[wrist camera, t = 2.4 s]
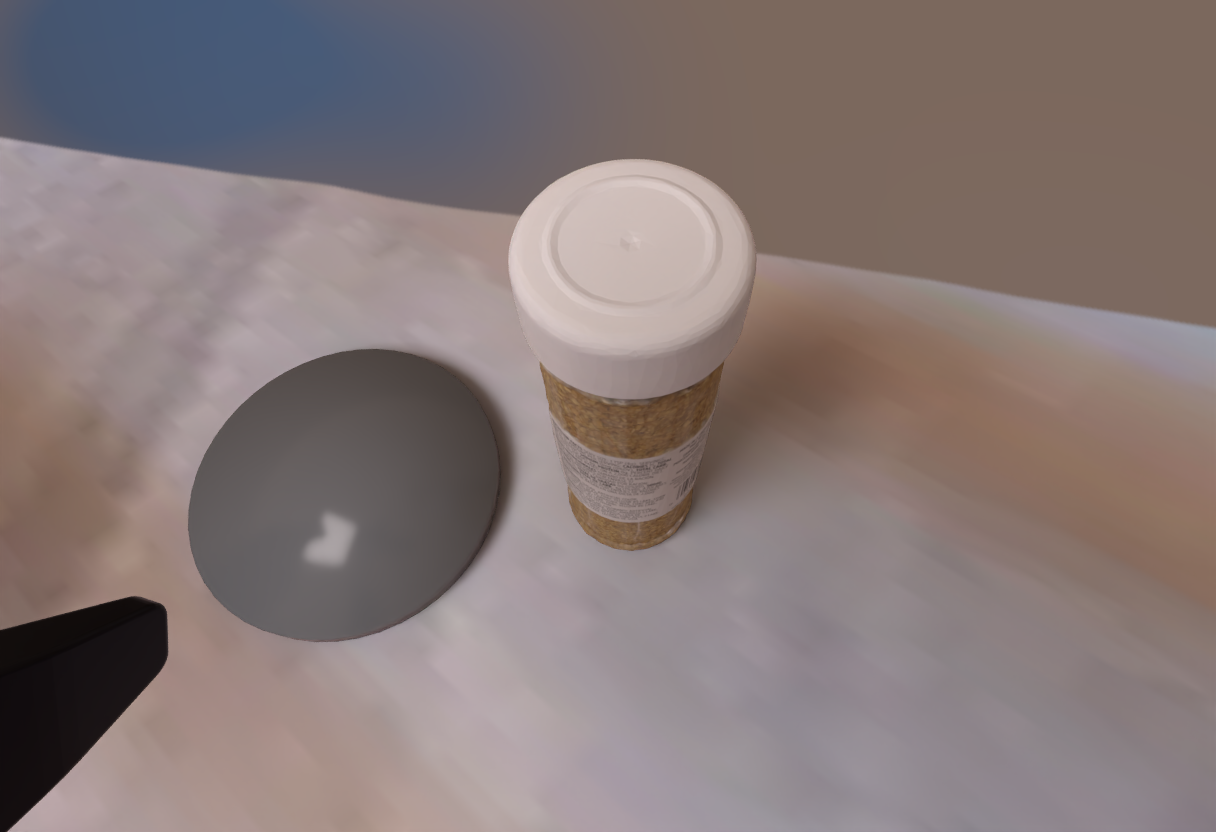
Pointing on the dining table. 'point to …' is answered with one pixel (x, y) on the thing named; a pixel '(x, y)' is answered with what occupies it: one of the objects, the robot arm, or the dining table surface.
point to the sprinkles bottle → (632, 333)
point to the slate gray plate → (344, 496)
